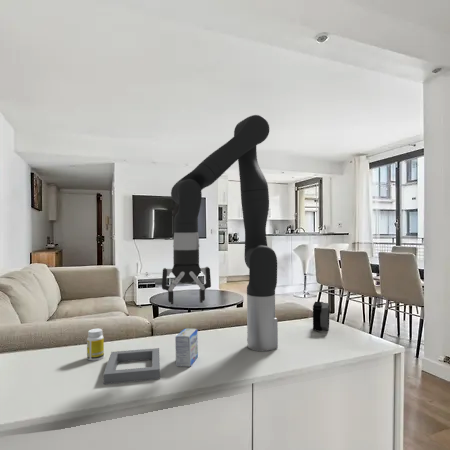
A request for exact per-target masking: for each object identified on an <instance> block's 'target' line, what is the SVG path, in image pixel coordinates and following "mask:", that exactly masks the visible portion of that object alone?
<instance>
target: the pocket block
mask: <svg viewBox="0 0 450 450" xmlns="http://www.w3.org/2000/svg"><path fill="white" fill-rule="evenodd" d="M146 360H147V361H148V360H151V362H152V363H151V366H148V367H147V366H146V367H138V368H137V367H135V368H125V369H117V367H118V363H124V362H134V361H135V362H136V361H146ZM160 360H161V359H160V348H159V347H157V348H155V347H154V348H145V349H143V348H142V349H133V350H131V349H130V350H128V349H127V350H116V351H111V352H110V354H109V357H108V361H107V363H106V365H105V368H104V369H105V370H104V372H103V375H102V376H103V381H102V383H103V385H108V384H110V385H111V384H119V383H120V384H121V383H122V384H123V383H131V382H140V381H151V380H160V378H161V369H160V368H161V365H160V364H161V363H160V362H161V361H160Z"/></svg>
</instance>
